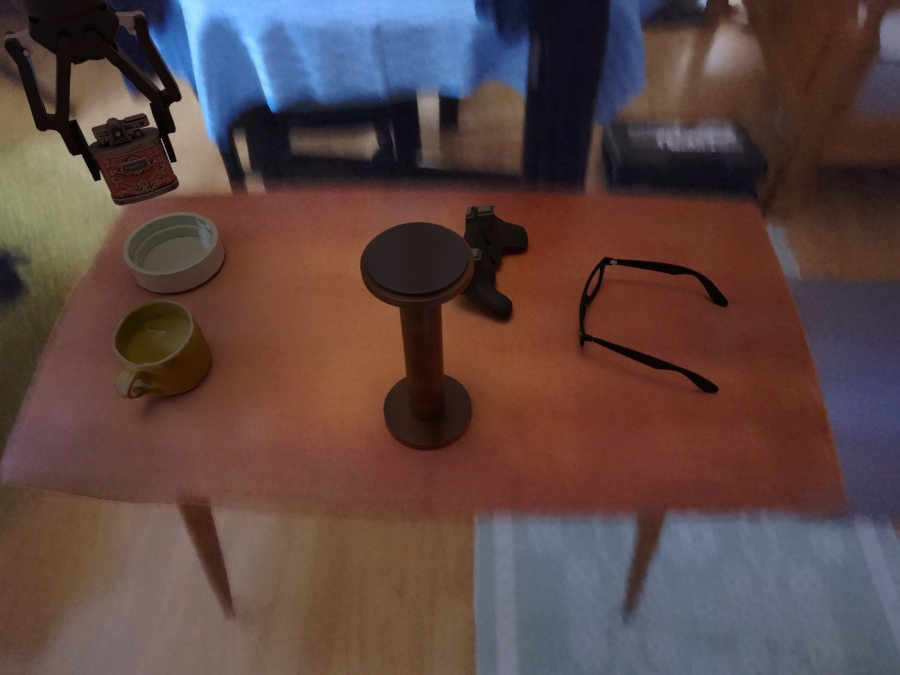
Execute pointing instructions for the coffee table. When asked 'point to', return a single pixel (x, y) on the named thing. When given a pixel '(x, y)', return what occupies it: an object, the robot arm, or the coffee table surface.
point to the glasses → (635, 355)
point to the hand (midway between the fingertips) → (135, 165)
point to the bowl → (174, 252)
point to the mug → (160, 350)
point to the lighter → (132, 160)
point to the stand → (421, 327)
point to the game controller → (490, 256)
